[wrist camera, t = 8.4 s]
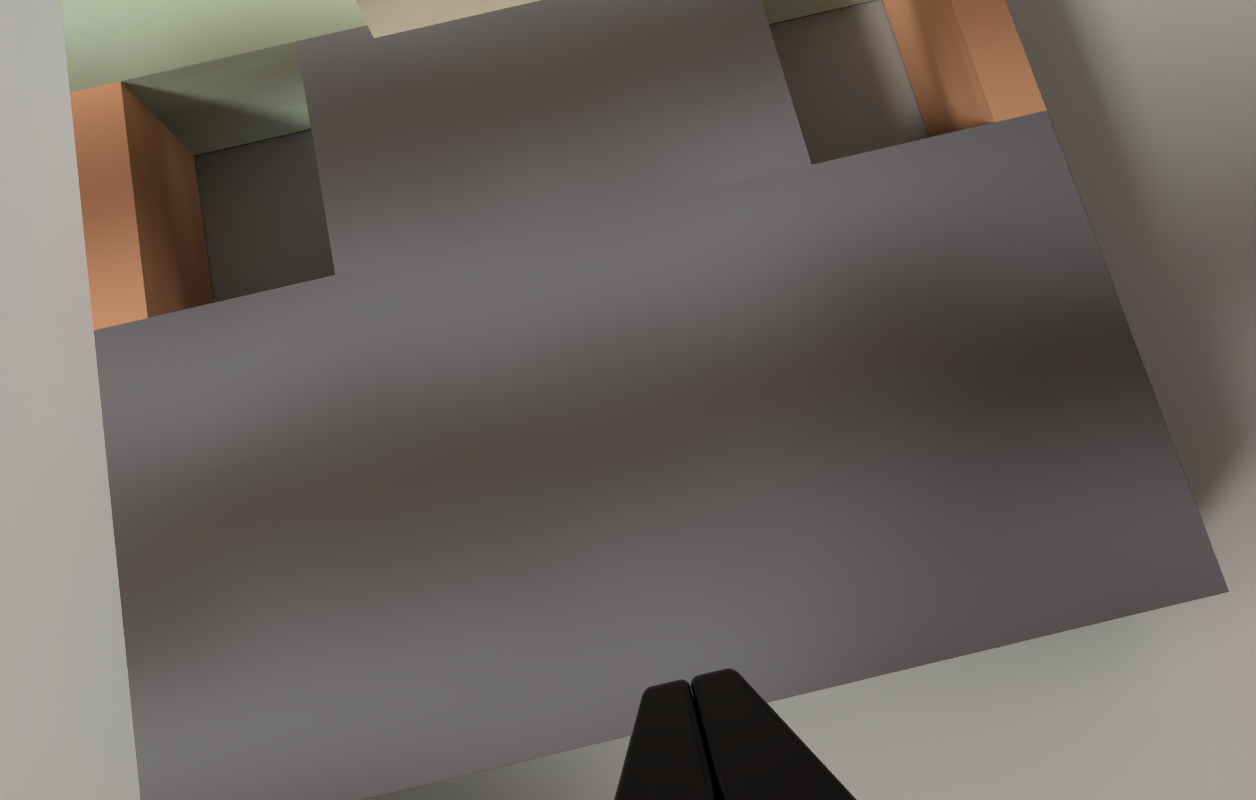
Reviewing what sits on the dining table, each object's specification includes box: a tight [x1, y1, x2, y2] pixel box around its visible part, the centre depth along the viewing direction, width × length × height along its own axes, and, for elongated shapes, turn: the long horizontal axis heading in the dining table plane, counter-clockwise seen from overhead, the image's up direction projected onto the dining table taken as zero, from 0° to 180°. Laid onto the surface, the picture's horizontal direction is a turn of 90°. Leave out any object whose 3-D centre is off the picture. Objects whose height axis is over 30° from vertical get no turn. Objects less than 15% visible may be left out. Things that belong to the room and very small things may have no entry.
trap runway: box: [61, 0, 1229, 800], centre depth 19 cm, size 25×18×4 cm
